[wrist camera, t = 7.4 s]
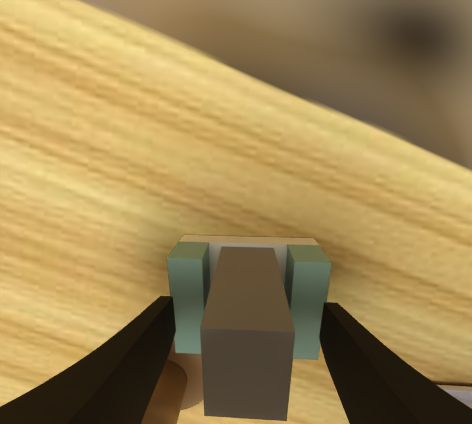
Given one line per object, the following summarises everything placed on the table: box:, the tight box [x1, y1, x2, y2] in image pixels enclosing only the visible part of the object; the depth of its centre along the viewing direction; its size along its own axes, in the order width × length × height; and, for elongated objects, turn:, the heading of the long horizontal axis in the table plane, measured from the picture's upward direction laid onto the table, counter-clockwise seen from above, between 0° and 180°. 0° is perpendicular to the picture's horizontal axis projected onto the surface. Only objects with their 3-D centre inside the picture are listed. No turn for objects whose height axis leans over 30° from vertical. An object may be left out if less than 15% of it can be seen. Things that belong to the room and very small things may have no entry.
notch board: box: [167, 235, 332, 360], centre depth 13 cm, size 8×6×3 cm
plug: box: [200, 246, 295, 421], centre depth 10 cm, size 3×4×6 cm
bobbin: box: [141, 340, 204, 424], centre depth 14 cm, size 7×7×7 cm
